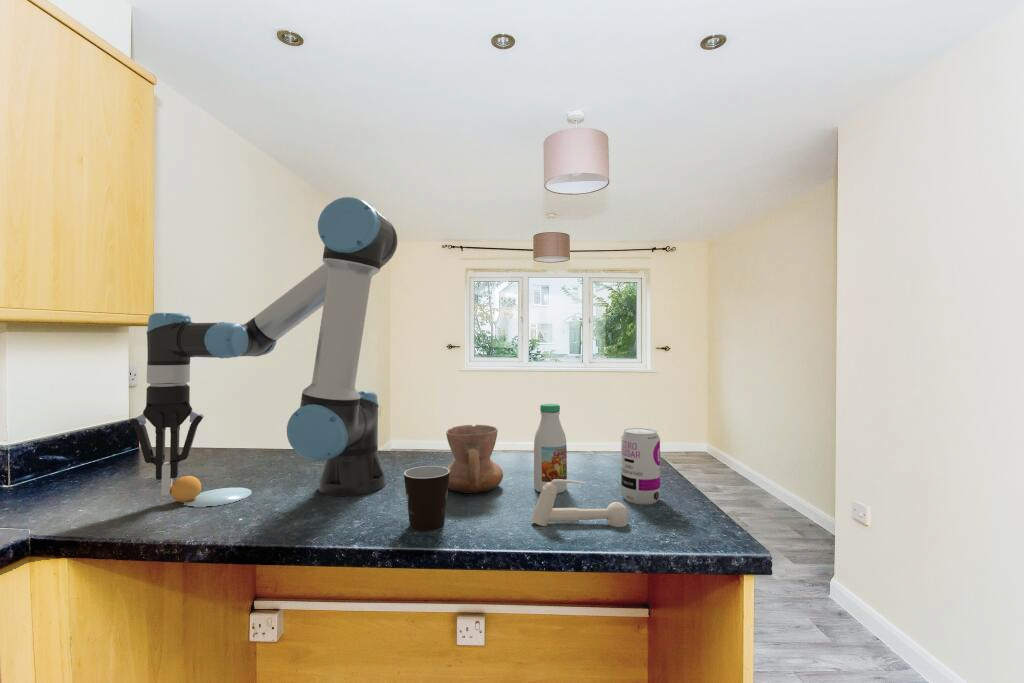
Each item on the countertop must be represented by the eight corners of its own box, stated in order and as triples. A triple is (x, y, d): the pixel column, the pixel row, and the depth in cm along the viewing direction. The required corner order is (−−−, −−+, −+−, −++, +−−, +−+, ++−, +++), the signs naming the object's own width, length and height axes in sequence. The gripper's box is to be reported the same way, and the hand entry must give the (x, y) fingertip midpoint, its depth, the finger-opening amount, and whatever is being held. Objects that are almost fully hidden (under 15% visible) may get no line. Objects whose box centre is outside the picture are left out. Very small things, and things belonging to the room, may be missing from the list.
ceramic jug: (444, 478, 118) (443, 423, 118) (501, 476, 119) (500, 421, 119) (438, 504, 100) (437, 438, 100) (505, 501, 101) (504, 436, 101)
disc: (252, 485, 113) (252, 484, 113) (250, 501, 101) (250, 500, 101) (188, 493, 107) (188, 492, 107) (177, 511, 95) (177, 510, 95)
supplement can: (662, 496, 104) (661, 429, 104) (657, 507, 96) (656, 435, 96) (625, 491, 107) (625, 426, 107) (618, 502, 100) (617, 432, 100)
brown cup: (440, 535, 83) (440, 479, 83) (395, 531, 84) (395, 477, 84) (460, 512, 94) (460, 463, 94) (420, 509, 96) (420, 461, 96)
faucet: (621, 553, 86) (638, 502, 86) (531, 523, 86) (548, 472, 86) (616, 543, 90) (632, 495, 90) (530, 515, 90) (546, 467, 90)
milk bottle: (529, 492, 107) (529, 405, 107) (540, 483, 114) (539, 401, 114) (561, 496, 104) (561, 407, 104) (570, 486, 111) (570, 403, 111)
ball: (188, 503, 104) (209, 484, 106) (182, 510, 99) (205, 490, 101) (167, 487, 102) (189, 468, 104) (161, 494, 97) (184, 473, 99)
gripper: (206, 382, 106) (205, 485, 106) (135, 384, 100) (133, 492, 100) (202, 384, 100) (200, 494, 99) (125, 386, 94) (123, 503, 93)
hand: (166, 493), depth 100 cm, fingers closed
